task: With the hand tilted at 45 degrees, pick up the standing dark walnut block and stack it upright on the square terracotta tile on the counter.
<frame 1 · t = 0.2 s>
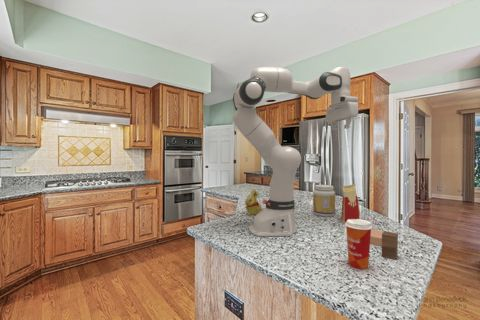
hand: (340, 129, 116), 48 cm above the counter, tool pointing down, fingers open, 8 cm apart
walnut block: (389, 256, 82), on the counter
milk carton: (349, 221, 124), on the counter
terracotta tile: (377, 241, 96), on the counter
chocolate bunny: (254, 215, 139), on the counter
supplement tub: (323, 214, 138), on the counter
paper cup: (358, 265, 75), on the counter
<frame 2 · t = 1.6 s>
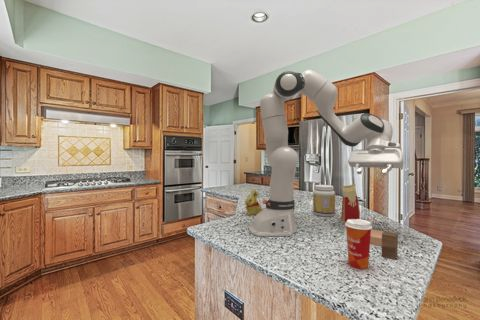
hand: (371, 173, 95), 28 cm above the counter, tool tilted 45°, fingers open, 8 cm apart
nothing on the counter moved.
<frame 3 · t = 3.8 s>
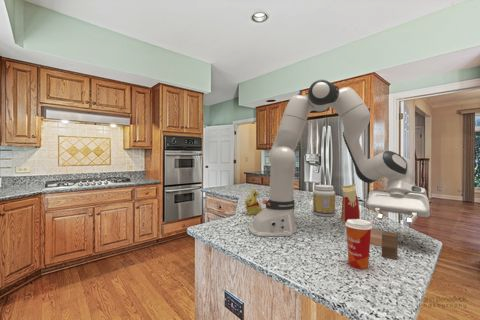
hand: (394, 221, 87), 11 cm above the counter, tool tilted 45°, fingers open, 8 cm apart
nothing on the counter moved.
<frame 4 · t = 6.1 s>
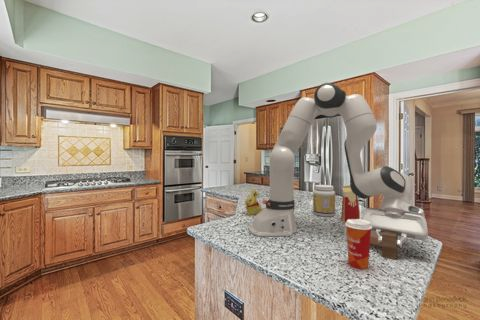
hand: (389, 244, 81), 4 cm above the counter, tool tilted 45°, fingers closed on walnut block, 4 cm apart
walnut block: (389, 256, 82), on the counter, touching gripper
everything else where it was.
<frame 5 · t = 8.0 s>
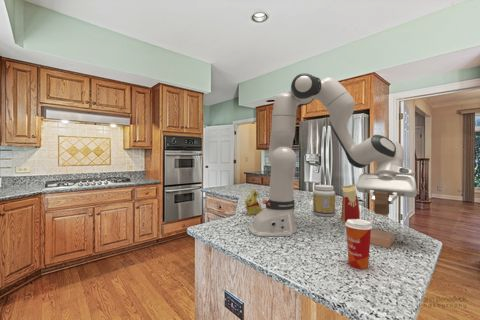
hand: (381, 202, 89), 17 cm above the counter, tool tilted 45°, fingers closed on walnut block, 4 cm apart
walnut block: (381, 213, 90), point 13 cm above the counter, touching gripper
everything else where it was.
when the fingers open (9 cm above the counter, at t = 10.4 s): walnut block drops 1 cm, resting on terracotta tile.
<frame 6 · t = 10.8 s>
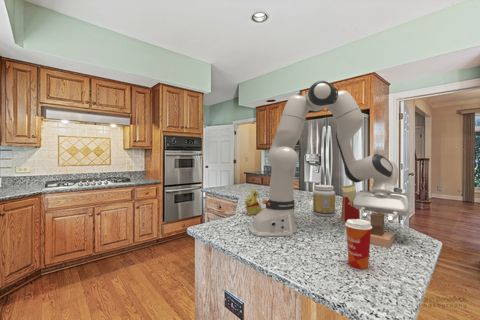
hand: (376, 219, 95), 9 cm above the counter, tool tilted 45°, fingers open, 8 cm apart
walnut block: (377, 233, 96), point 3 cm above the counter, touching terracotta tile
everything else where it was.
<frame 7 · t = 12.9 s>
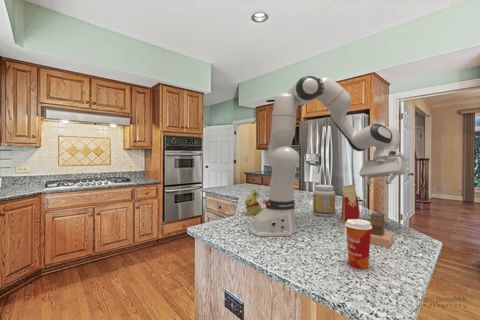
hand: (377, 184, 106), 22 cm above the counter, tool tilted 35°, fingers open, 8 cm apart
nothing on the counter moved.
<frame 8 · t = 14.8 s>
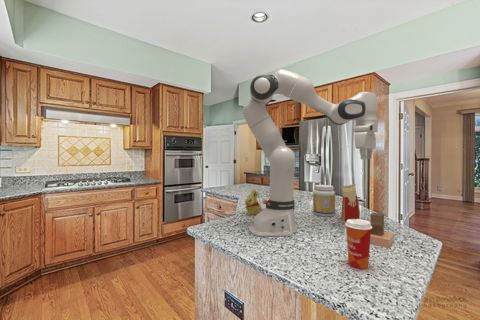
hand: (366, 159, 107), 33 cm above the counter, tool pointing down, fingers open, 8 cm apart
nothing on the counter moved.
at the end: walnut block inside the target area on the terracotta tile (0.0 cm from its centre), point 3.0 cm above the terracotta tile's base; walnut block tilted 0°; the gripper is holding nothing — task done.
